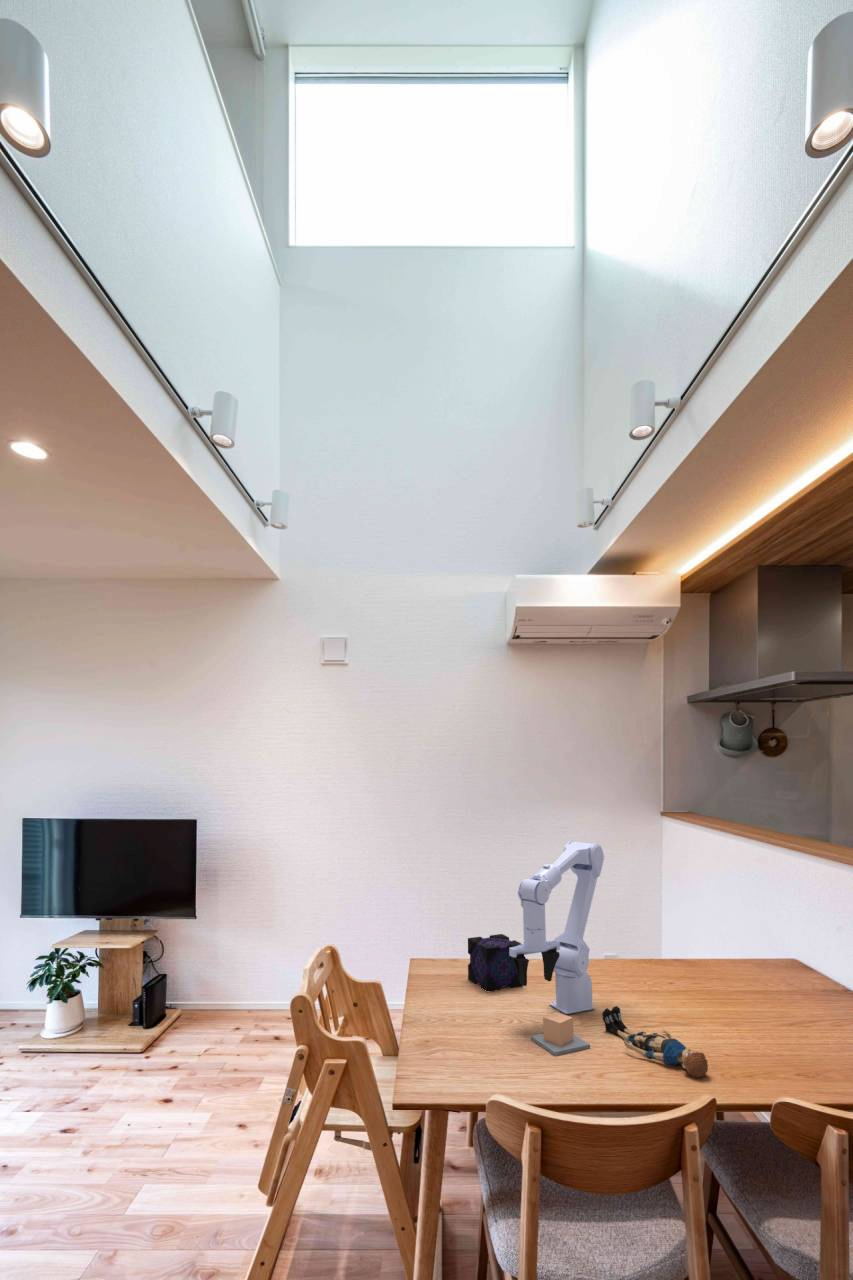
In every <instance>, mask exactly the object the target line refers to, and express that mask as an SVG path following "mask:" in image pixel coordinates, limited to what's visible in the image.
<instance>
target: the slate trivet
mask: <svg viewBox="0 0 853 1280" xmlns="http://www.w3.org/2000/svg"><path fill="white" fill-rule="evenodd" d="M530 1040H531V1041H532V1042H534V1043H535V1044H536V1045H538V1046H540V1047H541V1048H543V1049H544V1050H546V1051H547V1052H548V1053H550V1054H551V1055H553V1056H555V1057H557V1056H560V1055H565V1054H570V1053H575V1052H579V1051H582V1050H583V1051H585V1050H588V1049H591V1044H590V1043H589V1042H587V1041H585V1040H583V1039H582V1038H580V1037H578V1036H577V1035H576V1034H574V1033H573V1040H572V1041H570V1042H568V1043H566V1044H564V1045H562V1046H560V1045H557V1044H554V1043H552V1042H549V1041H546V1040H544V1032H543V1033H538V1034H534V1035H530Z"/></svg>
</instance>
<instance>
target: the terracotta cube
mask: <svg viewBox="0 0 853 1280" xmlns="http://www.w3.org/2000/svg"><path fill="white" fill-rule="evenodd" d="M542 1021H543V1022H542V1025H543V1033H544V1040H546V1041H549V1042H552V1043H554V1044H557V1045H560V1046H562V1045H564V1044H566V1043H568V1042H570V1041H572V1040H573V1034H574V1018H573V1017H572V1016H569V1015H568V1014H565V1013H562V1012H558V1011H555V1012H552V1013H550V1014H547V1015H545V1016H543V1017H542Z"/></svg>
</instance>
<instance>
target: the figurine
mask: <svg viewBox="0 0 853 1280" xmlns="http://www.w3.org/2000/svg"><path fill="white" fill-rule="evenodd" d="M601 1016H602V1021H603V1023H604V1027H605V1031H606V1032H611V1033H613V1034H615V1035H616V1036H619V1037H621V1038H622V1039H623V1044H624V1046H625V1047H626V1048H627V1049H630V1050H632V1051H634V1052H636V1053H638V1054H640V1055H642V1056H644V1057H646V1058H647V1059H649V1060H653V1059H656V1060H661V1061H663V1062H664V1063H665V1064H667V1065H670V1066H671V1065H672V1066H674V1065H676V1066H678V1067H679V1068H680V1069H683V1070H686V1072H687V1073H688V1074H689V1075H690V1076H692V1077H694V1078H697V1079H698V1078H704V1077H706V1074H707V1072H708V1071H709V1069H708V1068H709V1064H708V1059H706V1055H705V1053H703V1052H701V1051H699V1052H698V1051H696V1050H692V1049H691V1048H690V1047H689V1048H687V1047H686V1046H685V1045H684V1044H683V1043H682V1042H681V1041H679V1040H678V1039H676V1038H674V1036H673V1035H672V1034H671V1033H670V1031H668V1030H666V1029H662V1031H661V1034H659V1033H657V1032H651V1033H647V1032H645V1031H639V1032H635V1031H634V1030H630V1029H628V1027H627V1026H626V1024H625V1023H624V1022H623V1020H622V1012H621V1008H620V1007H619V1006H617V1005H616V1006H613V1007H612V1009H611V1010H610V1009H609V1008H608V1007H607V1008H605V1009H603V1012H602V1013H601ZM635 1045H639V1047H637V1046H635Z"/></svg>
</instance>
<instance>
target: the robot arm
mask: <svg viewBox="0 0 853 1280" xmlns="http://www.w3.org/2000/svg"><path fill="white" fill-rule="evenodd" d="M604 860H605V855H604V850H603V848H602V846H601V844H599V843H588V842H581V841H575V840H569V841H568V842H567V843H566V844H564V846H563V852H562V853H561V854H560V856H559V857H558V858H557V859H556V860H555V861H554V862H553V863H552V864H551V863H545V864H543V865H542V867H541V869H539V870H538V871H537V872H536V873H534V875H533V876H532V877H530V878H525V879H523V880H522V881H521V882H520V883H519V886H518V890H517V895H518V898H519V900H520V906H521V909H522V920H523V921H522V923H523V943H521V945H518V946H515V947H511V948H509V955H510V956H511V959H512V961H513V963H514V965H515V967H516V970H517V973H518V977H519V981H520V984H521V985H523V986H522V987H526V986H527V984H528V968H529V966H528V965H529V963H530V962H529V961H530V960H529V959H528V958H526V955H533V954H537V953H541V957H542V963H543V978H544V980H545V981H547V982H552V979H553V973H554V974H555V981H554V982H555V1001H553V1002H549V1006H551V1007H553V1008H555V1009H556V1010H558V1011H559V1012H560V1013H562V1014H564V1015H569V1014H576V1013H580V1012H586V1011H591V1010H594V1009H595V1008H596V1007H595V1006H594V1004H593V982H592V979H591V976H590V975H589V973H588V972H587V970H588V968H589V962H590V961H589V957H590V956H589V955H590V947H589V946H588V944H587V943H586V941H585V940H584V934H585V930H586V927H587V922H588V919H589V914H590V912H591V911H590V910H591V906H592V902H593V898H594V893H595V890H596V886H597V881H598V878H599V877H601V873H602V868H603V865H604ZM569 869H570V870H571V871H572V873H574V874H575V875H576V876H577V880H576V884H575V887H574V888H575V889H574V893H573V896H572V899H571V904H570V908H569V911H568V916H567V918H566V924H565V927H564V930H563V933H561V934H559V935H557V936H556V937H555V938H554V940H549V941H548V940H547V933H546V932H547V930H546V929H547V928H546V903H547V902H548V901H549V898H550V895H551V893H552V891H553V889H554V888H555V887H557V886H558V884H560V883H561V882H562V875H563V874H564V873H566V872H567V871H569ZM546 940H547V941H546Z"/></svg>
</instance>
